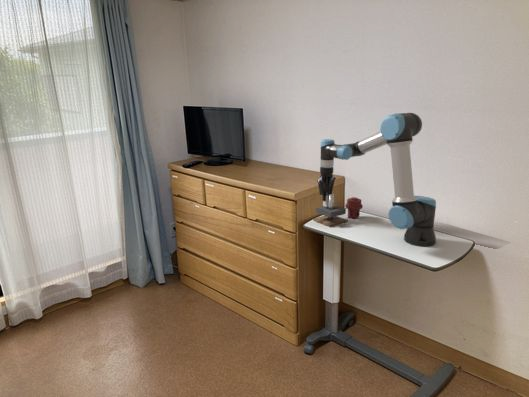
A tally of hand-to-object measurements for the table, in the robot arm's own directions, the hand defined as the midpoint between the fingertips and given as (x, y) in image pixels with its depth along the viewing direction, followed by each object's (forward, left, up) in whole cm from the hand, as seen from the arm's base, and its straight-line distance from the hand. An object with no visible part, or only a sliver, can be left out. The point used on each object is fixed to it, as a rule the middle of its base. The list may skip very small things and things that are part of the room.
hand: (325, 206), depth 238 cm
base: (-5, 0, -8) cm, 10 cm away
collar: (-5, 0, -3) cm, 6 cm away
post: (-5, 0, -7) cm, 8 cm away
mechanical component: (-8, -16, -9) cm, 20 cm away
